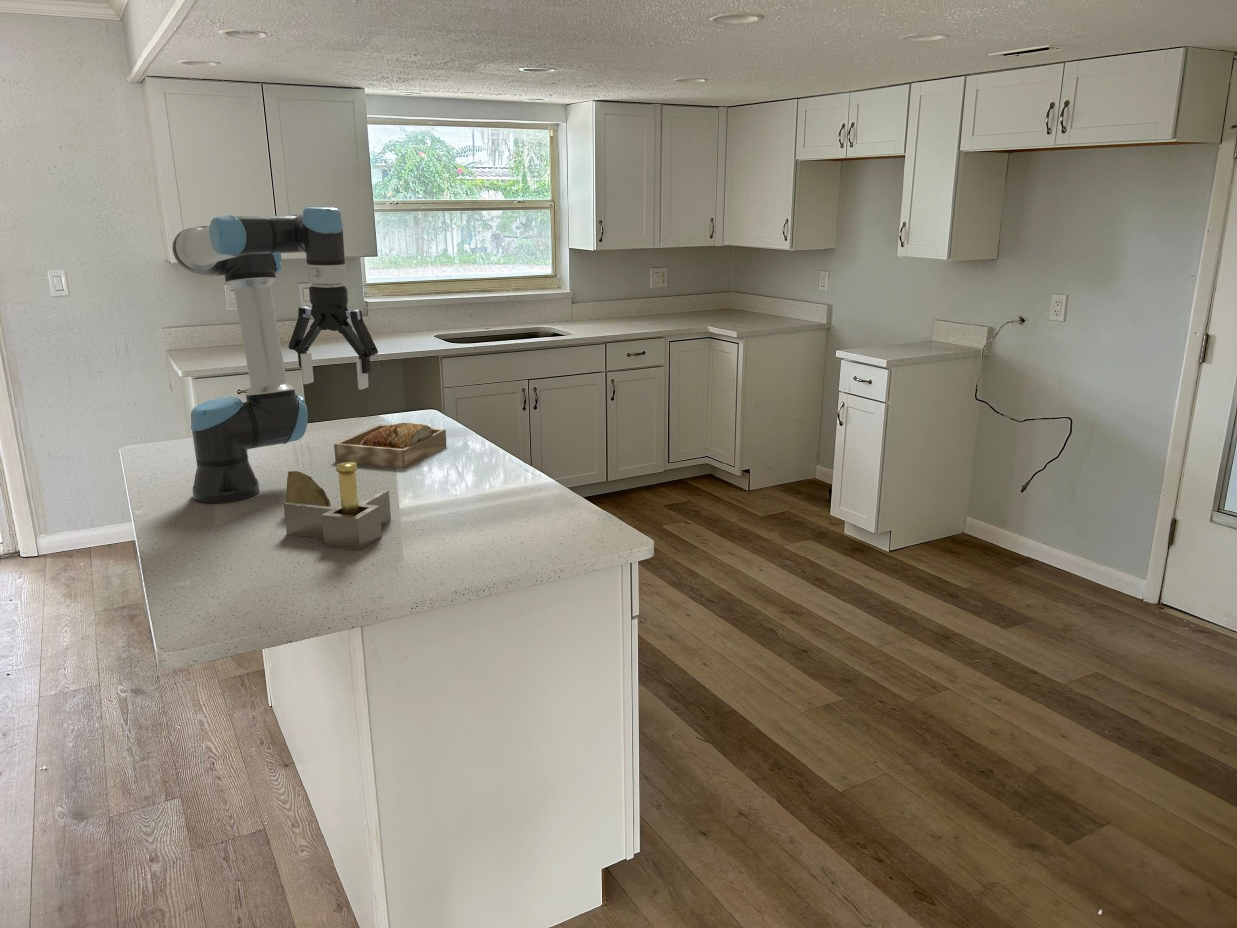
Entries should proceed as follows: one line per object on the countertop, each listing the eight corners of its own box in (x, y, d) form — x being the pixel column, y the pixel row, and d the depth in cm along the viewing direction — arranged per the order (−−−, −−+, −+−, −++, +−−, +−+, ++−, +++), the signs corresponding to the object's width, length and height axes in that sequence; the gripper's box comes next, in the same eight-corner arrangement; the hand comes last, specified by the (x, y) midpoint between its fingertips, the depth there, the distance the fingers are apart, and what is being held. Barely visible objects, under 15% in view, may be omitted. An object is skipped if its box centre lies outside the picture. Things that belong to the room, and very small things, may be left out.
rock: (332, 491, 215) (289, 489, 212) (332, 470, 208) (287, 467, 206) (328, 529, 208) (283, 527, 206) (328, 508, 202) (282, 506, 199)
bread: (402, 468, 243) (399, 432, 240) (348, 461, 249) (345, 426, 247) (443, 449, 261) (442, 416, 258) (392, 443, 268) (390, 411, 265)
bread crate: (335, 461, 248) (333, 444, 247) (381, 440, 270) (379, 424, 269) (405, 467, 242) (404, 450, 241) (446, 445, 264) (445, 429, 263)
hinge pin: (338, 539, 188) (331, 466, 183) (349, 532, 192) (343, 461, 187) (355, 541, 187) (349, 468, 182) (366, 534, 191) (360, 463, 186)
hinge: (276, 540, 190) (272, 509, 188) (326, 512, 207) (324, 483, 205) (360, 550, 185) (357, 518, 183) (405, 521, 202) (403, 491, 200)
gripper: (264, 283, 184) (275, 384, 190) (370, 290, 177) (377, 394, 183) (288, 280, 190) (297, 377, 197) (390, 286, 183) (396, 386, 190)
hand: (335, 385), depth 190 cm, fingers open, 13 cm apart
